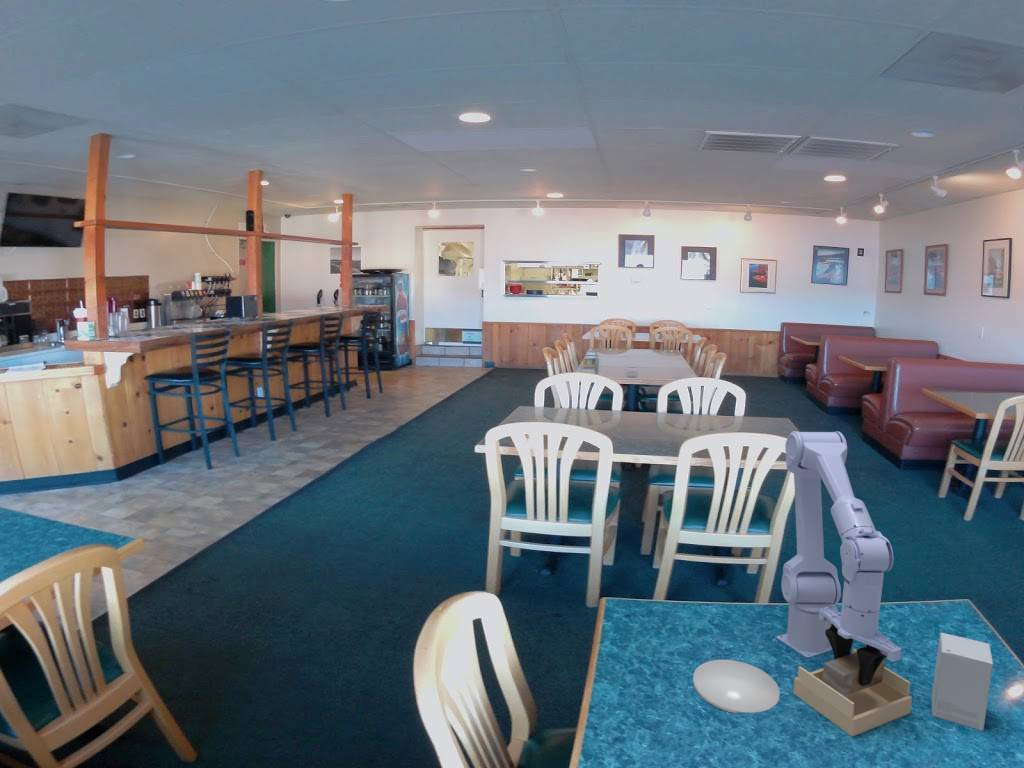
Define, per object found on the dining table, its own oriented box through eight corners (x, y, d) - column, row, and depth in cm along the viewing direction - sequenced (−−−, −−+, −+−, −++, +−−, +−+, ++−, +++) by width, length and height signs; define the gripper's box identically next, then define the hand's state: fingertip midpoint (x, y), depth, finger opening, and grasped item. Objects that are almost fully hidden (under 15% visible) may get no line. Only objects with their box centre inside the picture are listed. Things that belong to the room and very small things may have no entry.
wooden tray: (848, 675, 125) (851, 646, 124) (910, 715, 114) (913, 684, 113) (792, 695, 119) (795, 665, 118) (851, 739, 108) (855, 706, 107)
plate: (737, 656, 131) (738, 652, 131) (798, 701, 117) (798, 697, 117) (676, 674, 125) (676, 671, 125) (732, 724, 111) (733, 720, 111)
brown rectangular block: (862, 669, 119) (864, 649, 119) (882, 682, 116) (884, 661, 115) (822, 683, 115) (824, 662, 115) (841, 697, 112) (844, 675, 111)
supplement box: (984, 734, 109) (994, 664, 107) (931, 718, 113) (940, 650, 111) (981, 709, 116) (990, 643, 113) (931, 694, 119) (939, 630, 117)
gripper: (809, 589, 118) (802, 658, 120) (883, 630, 105) (874, 707, 107) (837, 582, 121) (830, 649, 123) (913, 621, 108) (903, 695, 110)
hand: (853, 676), depth 115 cm, fingers closed on brown rectangular block, 4 cm apart
